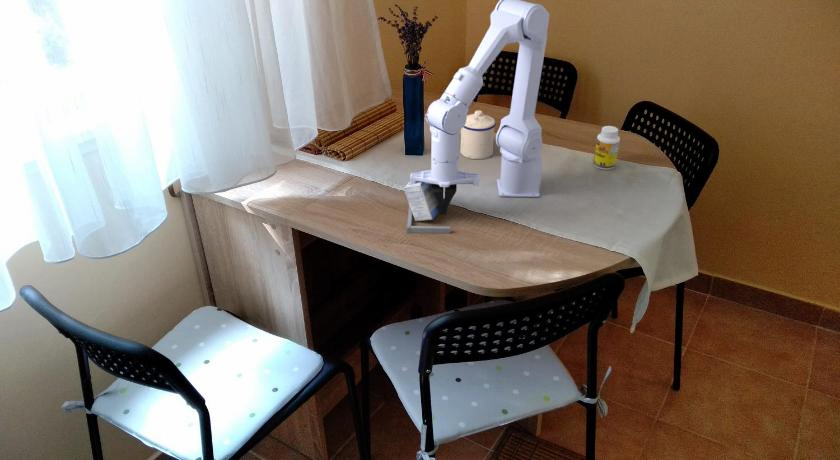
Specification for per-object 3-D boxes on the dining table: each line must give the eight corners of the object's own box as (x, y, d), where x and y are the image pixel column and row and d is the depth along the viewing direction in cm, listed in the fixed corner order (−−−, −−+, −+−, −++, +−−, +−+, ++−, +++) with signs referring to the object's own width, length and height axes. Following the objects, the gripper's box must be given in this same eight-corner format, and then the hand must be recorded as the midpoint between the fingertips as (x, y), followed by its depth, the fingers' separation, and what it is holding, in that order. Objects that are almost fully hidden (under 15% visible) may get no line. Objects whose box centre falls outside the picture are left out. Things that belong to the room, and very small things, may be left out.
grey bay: (449, 203, 146) (449, 199, 145) (450, 233, 136) (450, 228, 135) (409, 202, 146) (409, 198, 146) (407, 232, 136) (407, 227, 135)
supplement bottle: (588, 163, 163) (594, 126, 158) (606, 159, 165) (612, 122, 160) (601, 172, 159) (607, 134, 154) (619, 168, 161) (626, 131, 155)
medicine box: (432, 220, 137) (420, 184, 134) (414, 222, 140) (402, 186, 136) (446, 203, 143) (435, 168, 140) (429, 205, 146) (417, 171, 142)
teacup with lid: (500, 154, 168) (503, 113, 161) (473, 163, 163) (475, 121, 157) (473, 138, 176) (475, 98, 170) (446, 146, 172) (447, 105, 166)
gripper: (409, 165, 130) (410, 221, 137) (480, 165, 129) (477, 222, 137) (410, 150, 136) (411, 204, 143) (478, 150, 135) (475, 205, 142)
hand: (443, 212), depth 140 cm, fingers closed
